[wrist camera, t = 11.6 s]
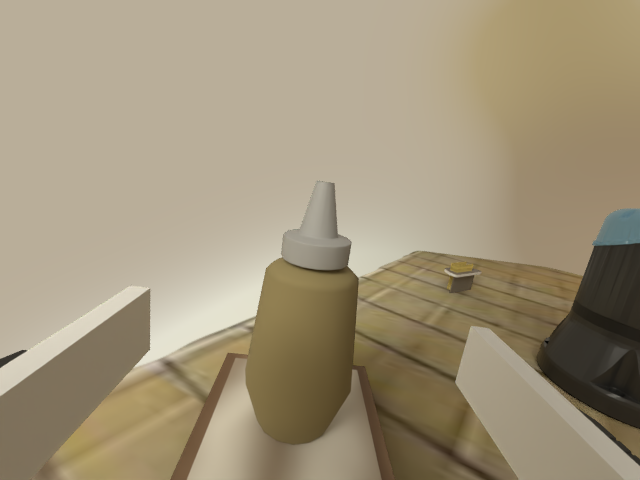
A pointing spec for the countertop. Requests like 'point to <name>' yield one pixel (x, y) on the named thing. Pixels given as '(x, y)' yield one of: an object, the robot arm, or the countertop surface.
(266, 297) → the squeeze bottle
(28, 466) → the robot arm
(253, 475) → the picture frame
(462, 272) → the platform
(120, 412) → the countertop surface
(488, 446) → the countertop surface
